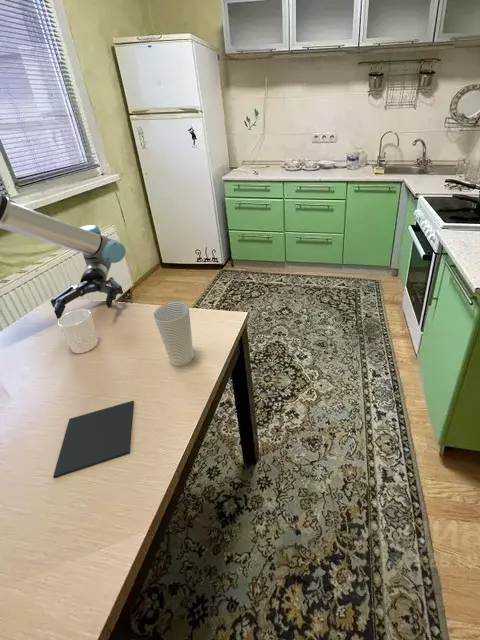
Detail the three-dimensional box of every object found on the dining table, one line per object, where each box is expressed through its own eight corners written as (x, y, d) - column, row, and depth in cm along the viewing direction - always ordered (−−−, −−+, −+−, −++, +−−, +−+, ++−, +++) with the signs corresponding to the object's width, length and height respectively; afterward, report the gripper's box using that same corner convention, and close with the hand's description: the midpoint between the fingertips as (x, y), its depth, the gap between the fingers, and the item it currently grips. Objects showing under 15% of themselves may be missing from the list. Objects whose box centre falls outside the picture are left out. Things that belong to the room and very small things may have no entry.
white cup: (92, 333, 98) (82, 305, 94) (105, 343, 94) (95, 314, 90) (64, 348, 92) (52, 319, 88) (77, 359, 88) (65, 329, 84)
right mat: (53, 478, 60) (52, 476, 60) (69, 420, 71) (69, 418, 71) (129, 453, 64) (129, 451, 64) (133, 401, 75) (133, 400, 75)
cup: (175, 345, 92) (165, 300, 85) (203, 349, 90) (194, 302, 83) (159, 367, 84) (146, 319, 78) (189, 372, 83) (178, 323, 76)
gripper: (135, 279, 120) (131, 310, 102) (58, 293, 113) (39, 329, 95) (130, 261, 117) (125, 290, 99) (50, 275, 110) (29, 308, 92)
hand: (83, 309), depth 97 cm, fingers open, 13 cm apart
